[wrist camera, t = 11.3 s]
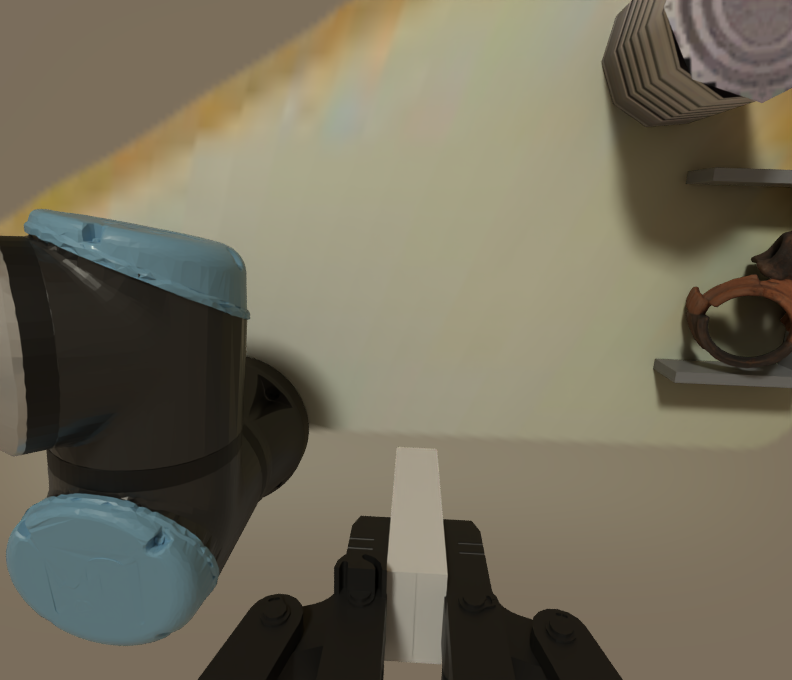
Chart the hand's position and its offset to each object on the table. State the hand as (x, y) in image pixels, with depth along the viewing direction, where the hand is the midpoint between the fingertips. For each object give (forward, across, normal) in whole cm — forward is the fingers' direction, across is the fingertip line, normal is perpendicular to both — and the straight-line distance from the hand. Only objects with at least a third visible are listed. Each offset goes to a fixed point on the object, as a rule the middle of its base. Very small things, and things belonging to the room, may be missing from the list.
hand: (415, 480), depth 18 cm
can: (+30, -20, -23) cm, 43 cm away
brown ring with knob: (+30, -30, -4) cm, 42 cm away
